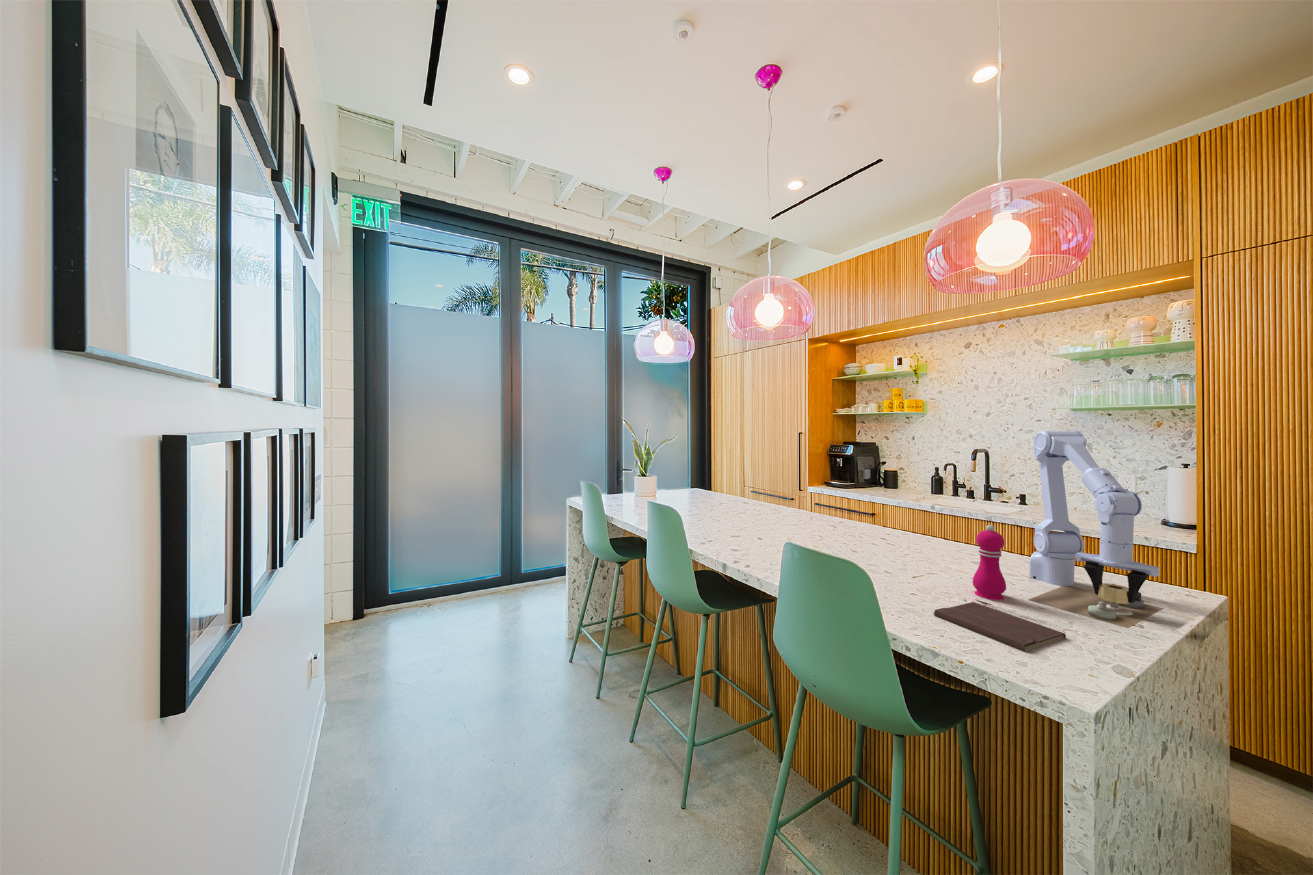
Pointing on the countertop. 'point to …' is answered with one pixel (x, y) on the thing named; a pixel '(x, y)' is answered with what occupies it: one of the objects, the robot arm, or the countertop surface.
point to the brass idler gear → (1113, 593)
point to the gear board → (1088, 599)
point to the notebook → (999, 626)
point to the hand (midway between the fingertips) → (1114, 597)
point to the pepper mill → (989, 566)
